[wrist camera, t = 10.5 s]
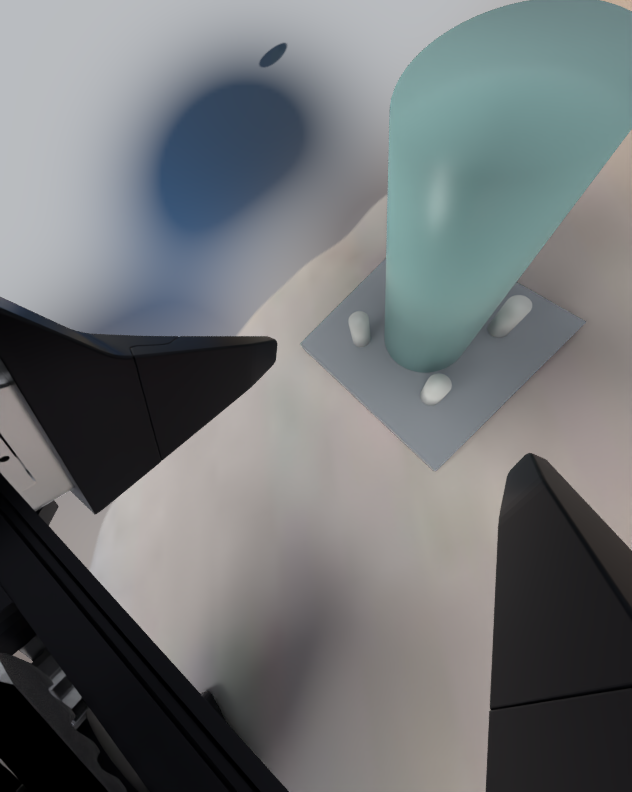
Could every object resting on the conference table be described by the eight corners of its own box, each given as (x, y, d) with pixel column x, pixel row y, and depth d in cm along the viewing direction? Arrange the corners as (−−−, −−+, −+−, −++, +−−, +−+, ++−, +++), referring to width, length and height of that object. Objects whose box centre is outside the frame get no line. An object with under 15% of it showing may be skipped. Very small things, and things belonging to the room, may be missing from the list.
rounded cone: (454, 382, 16) (639, 184, 5) (374, 360, 17) (360, 171, 6) (477, 309, 17) (685, -21, 5) (397, 294, 18) (425, 13, 7)
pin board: (432, 470, 16) (446, 472, 13) (303, 349, 20) (288, 326, 17) (574, 330, 16) (624, 295, 13) (416, 237, 20) (423, 192, 17)
